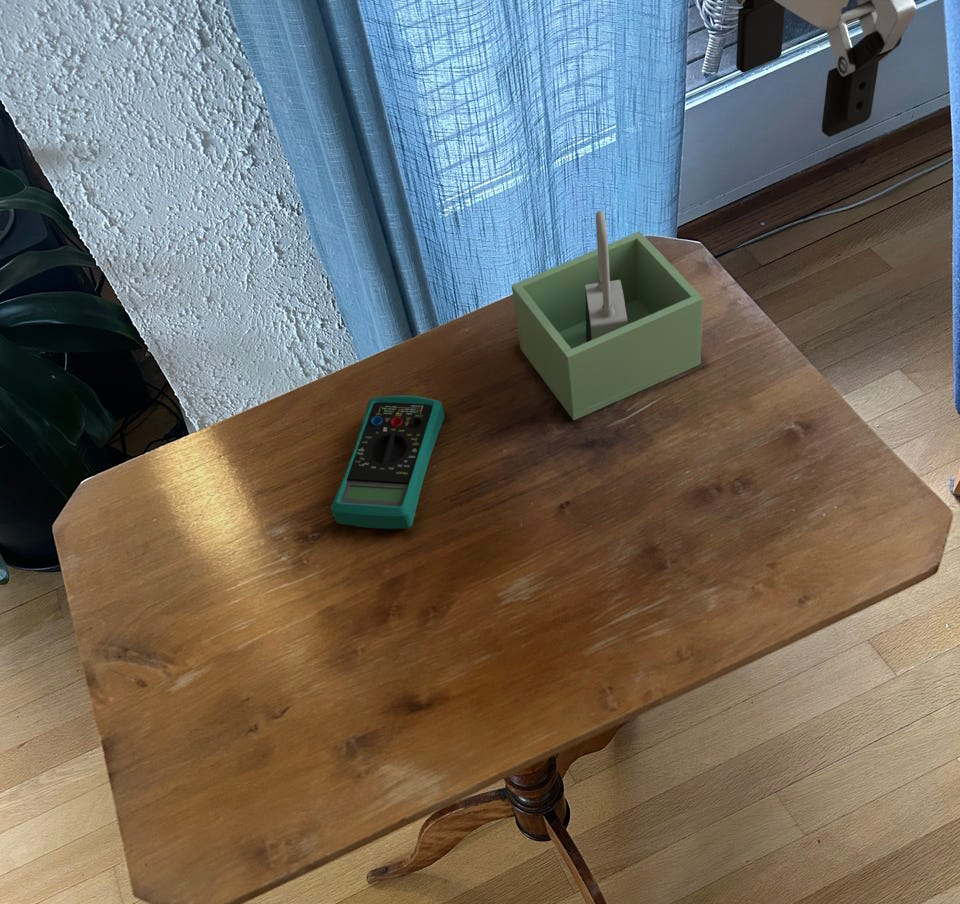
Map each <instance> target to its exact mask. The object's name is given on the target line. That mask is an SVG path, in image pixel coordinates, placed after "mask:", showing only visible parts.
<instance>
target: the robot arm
mask: <svg viewBox="0 0 960 904" xmlns="http://www.w3.org/2000/svg"><path fill="white" fill-rule="evenodd" d="M849 1H850V0H734V2H735V3H736V6H738V7H740V8H738V9H737V10H738V11H737V12H738V13H737V34H736V35H737V36H736V56H735V57H736V60H735V66H736V67H735V68H736V69H737V70H739V72H741V73H747V72H749V71H752V70H754V69H756V68H759V67H761V66H763V65H764V66H765V65H766V64H769V63H770V62H771V63H772V62H773V61H775V60H778V59H779V58H780V57H782V51H783V40H784V39H783V38H784V28H785V27H784V26H785V25H784V24H785V14H786V12H785V11H786V10H788V11H790V12H791V13H793V14H795V15H796V16H798V17H799V18H801V19H803V20H804V21H806V22H808V23H809V24H811V25H813V26H814V27H816V28H818V29H821V30H824V31H826V35H827V39H828V43H829V46H830V49H831V54H832V56H833V59H834V64H835V66H836V67H834V68H832V69H830V70H828V72H827V77H826V86H825V94H824V95H825V96H824V102H823V103H824V104H823V112H822V119H821V120H822V121H821V132H822V133H823V134H824V135H825V136H827V137H829V138H831V137H833V136H836V135H838V134H840V133H842V132H845V131H847V130H850V129H853V128H854V127H856V126H859V125H861V124H863V123H866V122H867V121H868V120H869V119H870V118H871V115H872V109H873V104H874V98H875V97H874V96H875V91H876V85H877V84H876V83H877V77H878V70H879V64H880V62H881V61H884V60H886V59H887V58H888V56H889V54H890V53H891V52H893V51H894V50H895V49H896V48H898V47H899V46H900V45H901V42H902V37H903V36H904V34H905V32H906V31H907V29H908V28H909V26H910V24H911V23H912V21H913V19H914V18H915V16H916V14H917V5H916V2H915V0H856V6H853V7H851V8H849V9H847V10H844V11H843V8H847V7H848V4H849ZM857 21H859V24H860V27H861V31H862V35H863V37H862V39H861V40H859V41H858V42H857V43H856V44H854V45H852V40H851V37H850V34H849V29H848V25H850V24H853V23H856V22H857Z"/></svg>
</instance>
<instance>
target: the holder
mask: <svg viewBox="0 0 960 904" xmlns="http://www.w3.org/2000/svg"><path fill="white" fill-rule="evenodd" d="M608 257H609V276H610V281H615V280H620V281H621V286H622V290H623V295H624V302H625V308H626V315H627V325H626V326H623V327H621V328H619V329H616V330H614V331H612V332H609V333H607V334H605V335H602V336H600V337H598V338H596V339H593V340H591V341H589V342H586V296H585V285H588V284H595V283H598V281H599V264H598V248H596V249H594V250H592V251H589V252H587V253H585V254H582V255H580V256H577V257H575V258H572V259H570V260H568V261H566V262H563V263H561V264H558V265H556V266H553V267H552V268H549V269H546V270H545V271H541V272H540V273H537V274H535V275H532V276H529V277H527V278H526V279H523V280H521V281H518V282H515V283H514V284H512V285H511V292H512V298H513V305H514V312H515V319H516V326H517V332H518V340H519V347H520V350H521V352H522V353H523V354H524V356H525V357H526V358H527V361H529V363H530V364H531V365H532V366H533V368H534V369H535V371H536V372H537V373H538V374H539V376H540V377H541V378H542V380H543V381H544V383H545V384H546V385H547V387H548V388H549V389H550V391H551V392H552V394H553V395H554V397H556V399H557V400H558V401H559V403H560V404H561V406H562V407H563V408H564V409H565V411H566V412H567V414H568V415H569V416H570V418H571V419H572V420H573V421H575V420H578V419H580V418H583V417H586V416H587V415H590V414H592V413H594V412H597V411H599V410H601V409H603V408H605V407H608V406H610V405H612V404H614V403H617V402H619V401H621V400H623V399H626V398H628V397H630V396H633V395H635V394H638V393H639V392H641V391H644V390H646V389H648V388H651V387H653V386H655V385H657V384H660V383H662V382H664V381H666V380H669V379H671V378H673V377H676V376H678V375H681V374H682V373H684V372H686V371H689V370H691V369H694V368H696V367H698V366H700V365H701V364H702V363H701V360H702V359H701V357H702V339H703V338H702V337H703V336H702V335H703V315H704V314H703V311H704V297H703V296H702V295H701V294H700V293H699V292H698V291H697V290H696V289H695V288H694V286H693V285H692V284H690V282H688V281H687V280H686V278H685V277H684V276H683V275H682V274H681V273H680V272H679V271H678V270H677V268H675V267H674V266H673V265H672V264H671V262H669V260H667V258H666V257H665V256H664V255H663V254H662V253H661V252H660V251H659V250H658V249H657V248H656V247H655V246H654V244H652V243H651V242H650V240H648V238H646V236H645V235H644V234H643V233H642V232H641V231H636V232H634V233H632V234H629V235H627V236H625V237H622V238H620V239H618V240H615V241H612V242H611V243H608Z"/></svg>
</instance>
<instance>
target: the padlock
mask: <svg viewBox="0 0 960 904" xmlns="http://www.w3.org/2000/svg"><path fill="white" fill-rule="evenodd" d="M595 229H596V230H595V231H596V245H597V249H598V264H599V281H598V283H595V284H588V285H585V296H586V342H589V341H591V340H593V339H596V338H598V337H600V336H602V335H605V334H607V333H609V332H612V331H614V330H616V329H619V328H621V327H623V326H626V325H627V315H626V308H625V302H624V295H623V290H622V286H621V281H620V280H615V281H610V276H609V257H608V244H609V242H608V229H607V222H606V215H605V212H604V211H603V210H598V211H596V213H595Z"/></svg>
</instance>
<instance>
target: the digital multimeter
mask: <svg viewBox="0 0 960 904" xmlns="http://www.w3.org/2000/svg"><path fill="white" fill-rule="evenodd" d="M445 417H446V416H445V412H444V408H443V404H442V402H441V401H440V400H437V399H432V398H428V397H424V396H419V395H410V394H409V395H408V394H407V395H405V394H397V395H386V396H379V397H378V396H377V397H372V398H370V399H369V400H368V401H367V406H366V409H365V413H364V416H363V420H362V423H361V426H360V429H359V432H358V436H357V439H356V443H355V446H354V449H353V451H352V454H351V456H350V459H349V462H348V465H347V467H346V470H345V473H344V475H343V477H342V480H341V482H340V485H339V487H338V488H337V491H336V493H335V496H334V499H333V501H332V504H331V506H330V510H331V513H332V516H333V518H334V520H335V522H336V524H340V525H346V526H351V527H360V528H366V529H367V528H370V529H387V530H388V529H392V530H393V529H396V530H397V529H409V528H411V527H412V526H413V524H414V520H415V516H416V511H417V507H418V503H419V499H420V494H421V490H422V487H423V484H424V479H425V477H426V472H427V469H428V466H429V462H430V459H431V456H432V453H433V450H434V448H435V444H436V442H437V439H438V436H439V434H440V430H441V429H442V425H443V423H444V420H445Z"/></svg>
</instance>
